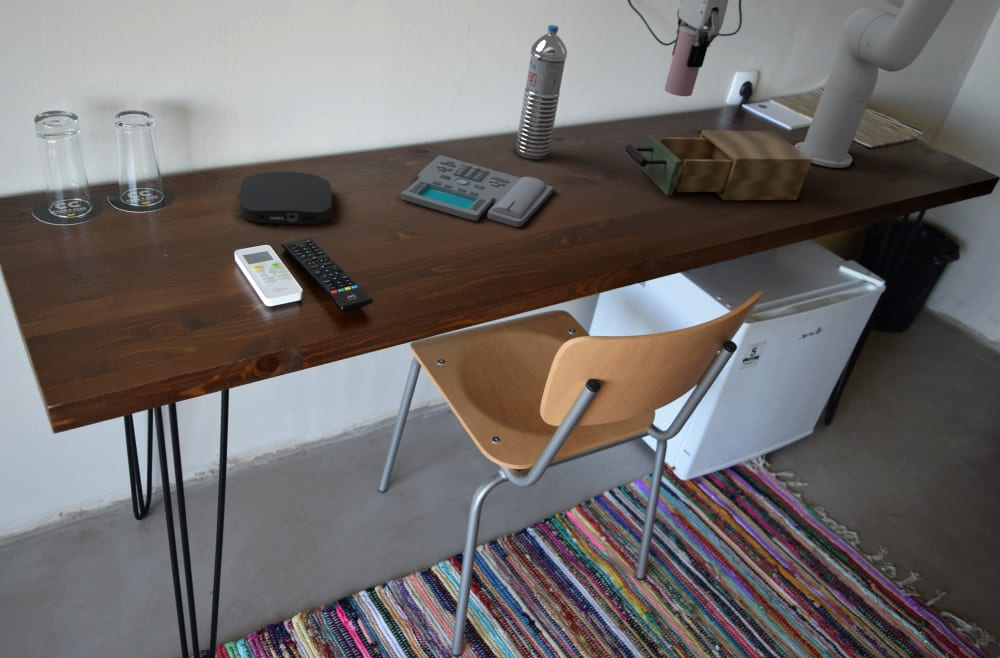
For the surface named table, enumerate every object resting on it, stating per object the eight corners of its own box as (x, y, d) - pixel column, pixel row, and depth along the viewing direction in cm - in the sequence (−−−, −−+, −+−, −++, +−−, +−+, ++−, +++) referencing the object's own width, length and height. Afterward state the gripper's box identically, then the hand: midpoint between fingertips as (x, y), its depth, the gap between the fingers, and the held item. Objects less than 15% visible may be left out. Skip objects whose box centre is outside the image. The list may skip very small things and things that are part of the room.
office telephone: (555, 179, 149) (521, 221, 134) (552, 192, 151) (519, 235, 135) (440, 148, 155) (395, 184, 139) (439, 160, 156) (394, 198, 141)
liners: (674, 85, 168) (690, 24, 161) (698, 94, 165) (716, 32, 157) (657, 89, 164) (673, 27, 157) (682, 98, 161) (699, 35, 154)
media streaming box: (329, 187, 142) (329, 171, 140) (332, 226, 130) (333, 209, 128) (243, 184, 139) (242, 168, 137) (239, 224, 127) (238, 207, 125)
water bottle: (546, 163, 161) (569, 33, 147) (512, 157, 162) (533, 27, 147) (550, 151, 167) (573, 25, 152) (517, 145, 168) (537, 19, 153)
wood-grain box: (723, 200, 156) (737, 158, 151) (690, 170, 167) (702, 129, 162) (796, 199, 160) (812, 159, 155) (759, 170, 171) (773, 131, 166)
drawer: (639, 195, 152) (648, 161, 148) (613, 166, 161) (621, 134, 157) (738, 194, 157) (749, 161, 153) (706, 167, 167) (716, 135, 163)
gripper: (755, -25, 145) (724, 76, 155) (709, -46, 158) (683, 49, 168) (718, -28, 143) (689, 75, 153) (675, -49, 156) (651, 47, 166)
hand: (686, 60), depth 161 cm, fingers closed on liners, 5 cm apart
